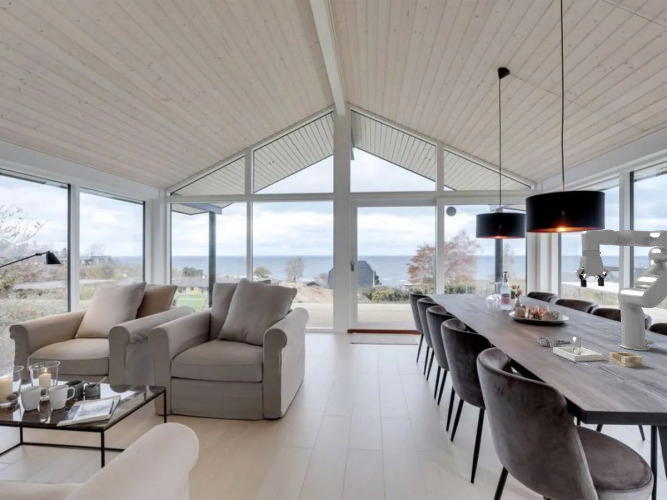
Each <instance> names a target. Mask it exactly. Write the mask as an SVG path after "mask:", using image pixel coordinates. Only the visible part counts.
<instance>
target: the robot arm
mask: <svg viewBox="0 0 667 500" xmlns="http://www.w3.org/2000/svg"><path fill="white" fill-rule="evenodd" d="M580 237H581V255H582V256H580V259H579V265H578V266H579V269H577V270H576V271H575V274H576V277H577V278H578V279H579V280H580V287H581V288H587V287H588V283H587V279H586V278H587V277H593V276H597V277H598V278H597V286H598V287H605V279H606V277H607V275H608V273H609V269H606V268H605V267H604V263H603V259H602V256H601V254H602V252H601V249H600V248H601V245H602V246H620V247H641V248H651V249H649V250H648V253H647V255H648V262H649V266H648V267H647V268H646V269H645V270H644V272H642V274H640V275H639V276H638V277H637V278H636V279H635V281H634V286H633V287H623V288H620V290H619V291H618V293H617V299H618V303H619V309H620V327H621V328H620V329H621V331H620V332H621V342H618V343H617V346H618V347H620V348H622V349H627V350H631V351H632V350H633V351H650V349H651V348H650V346H648V345H653V344H654V340H653V339H650V340H647V339H646V323H645V322H646V320H645V319H646V318H645V312H644V310H643V309H654V308H656V307H658V306H659V305H660V304H661V303H662V302H663V301H664V300H665V299H667V230H665V229H661V230H635V229H634V230H633V229H625V230H624V229H623V230H613V229H596V230H585V231H581V235H580Z"/></svg>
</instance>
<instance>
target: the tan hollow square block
mask: <svg viewBox="0 0 667 500" xmlns="http://www.w3.org/2000/svg"><path fill="white" fill-rule="evenodd" d="M608 361H609V362H610V363H613V364H616V365H618V366H622V367H624V368H628V367H629V368H633V367H635V368H637V367H643V356H640V355H637V354H635V353H634V354H633V353H630V352H627V351H612V352H610V351H609V352H608Z"/></svg>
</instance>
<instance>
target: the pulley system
mask: <svg viewBox="0 0 667 500" xmlns="http://www.w3.org/2000/svg"><path fill="white" fill-rule="evenodd" d="M536 342H537V343H536V344H537V345H541V346H546V347H549V348H550V349H553V347H564V346H562V345H564V344H565V345H567V344H571V340H566V339H562V338H555V337H554V338H551V341H549V339H548V337H537V340H536Z"/></svg>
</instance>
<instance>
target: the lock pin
mask: <svg viewBox="0 0 667 500" xmlns="http://www.w3.org/2000/svg"><path fill="white" fill-rule="evenodd" d="M572 337H573V338H572V341H573V344H572V345H573V346H572V347H573V349H574V355H581V347H582V337H580V336H572Z"/></svg>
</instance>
